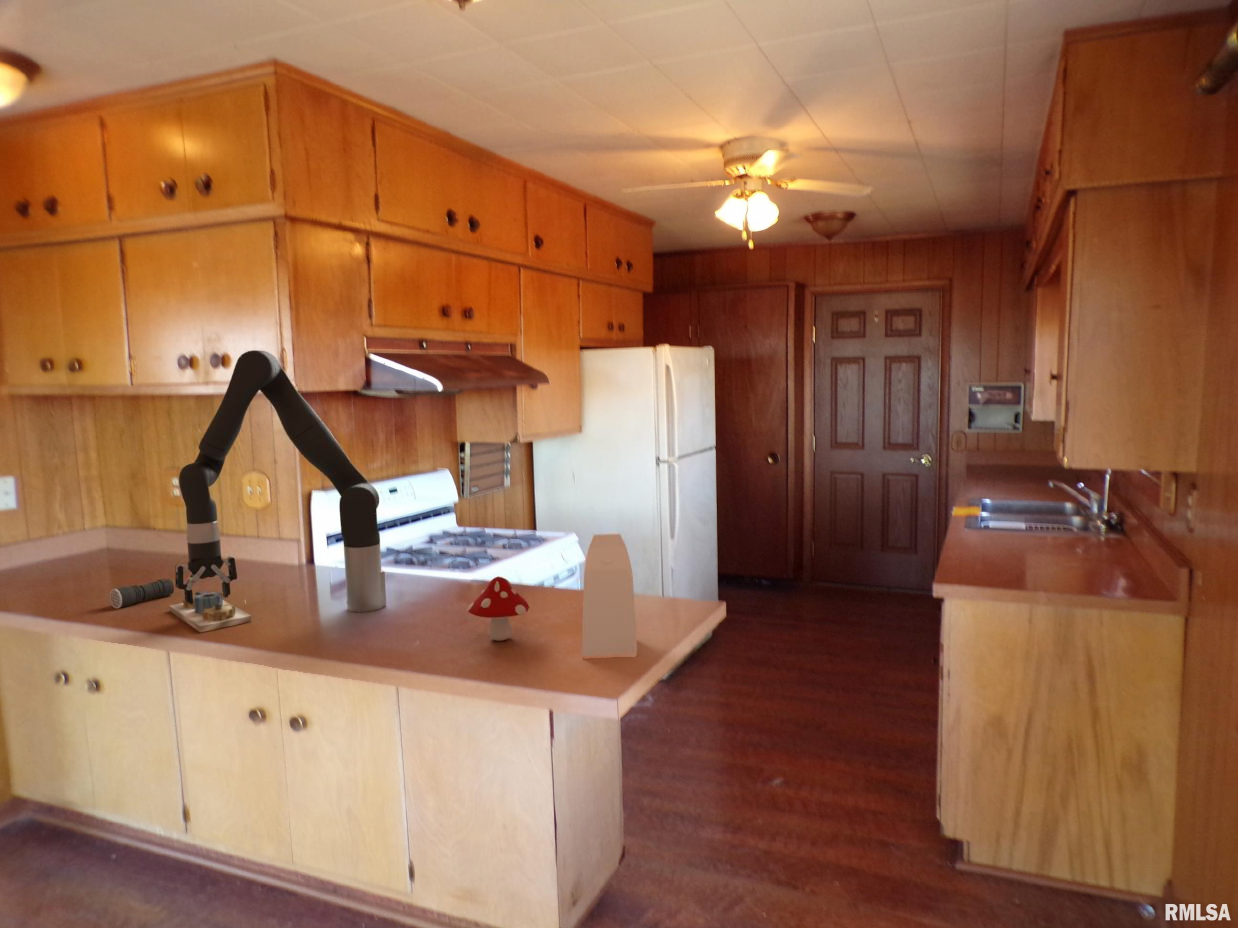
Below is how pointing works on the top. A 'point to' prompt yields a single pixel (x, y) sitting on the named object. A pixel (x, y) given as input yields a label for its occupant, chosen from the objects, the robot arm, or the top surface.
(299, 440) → the robot arm
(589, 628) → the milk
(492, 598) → the decorative mushroom
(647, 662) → the top surface
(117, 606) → the flashlight
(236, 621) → the gear board
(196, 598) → the loose gear
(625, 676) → the top surface
